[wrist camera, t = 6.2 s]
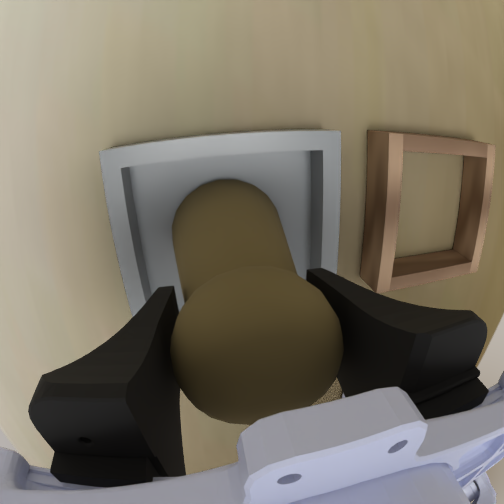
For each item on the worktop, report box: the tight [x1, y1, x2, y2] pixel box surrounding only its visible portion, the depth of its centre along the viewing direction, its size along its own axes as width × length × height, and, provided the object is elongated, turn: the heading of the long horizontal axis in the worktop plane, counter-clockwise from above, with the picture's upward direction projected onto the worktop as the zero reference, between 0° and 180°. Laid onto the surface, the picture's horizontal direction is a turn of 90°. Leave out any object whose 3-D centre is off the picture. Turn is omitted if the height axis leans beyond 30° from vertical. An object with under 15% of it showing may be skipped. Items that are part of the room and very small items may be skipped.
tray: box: [99, 129, 341, 317], centre depth 18 cm, size 12×12×2 cm
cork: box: [170, 179, 344, 425], centre depth 13 cm, size 6×6×11 cm
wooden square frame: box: [360, 130, 495, 293], centre depth 19 cm, size 10×10×2 cm
